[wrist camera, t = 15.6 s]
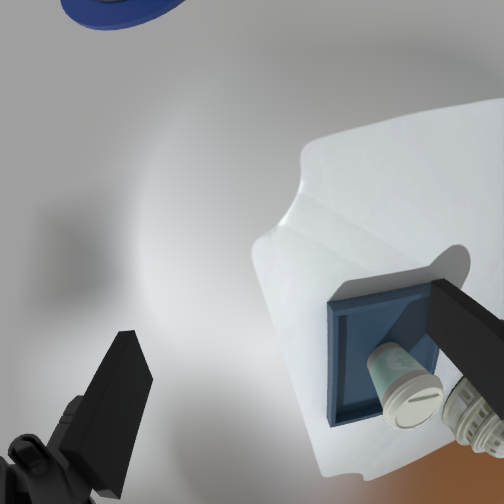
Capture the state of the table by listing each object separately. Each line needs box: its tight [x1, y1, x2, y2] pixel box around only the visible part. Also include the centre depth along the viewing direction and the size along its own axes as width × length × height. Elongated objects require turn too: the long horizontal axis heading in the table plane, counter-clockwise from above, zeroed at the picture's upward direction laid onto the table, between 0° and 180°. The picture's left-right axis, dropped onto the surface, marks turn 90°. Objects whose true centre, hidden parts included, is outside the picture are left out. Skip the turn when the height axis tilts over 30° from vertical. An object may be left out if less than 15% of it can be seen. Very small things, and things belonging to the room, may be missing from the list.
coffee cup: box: [367, 342, 444, 431], centre depth 36 cm, size 8×8×12 cm
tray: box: [327, 283, 439, 428], centre depth 41 cm, size 22×18×3 cm
